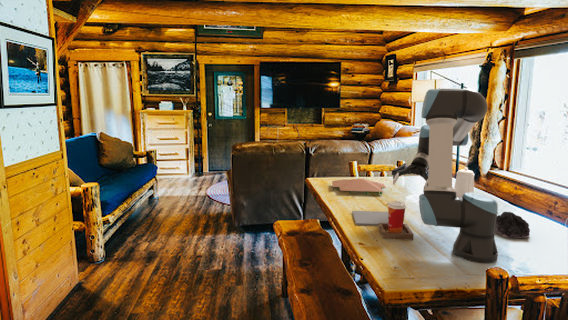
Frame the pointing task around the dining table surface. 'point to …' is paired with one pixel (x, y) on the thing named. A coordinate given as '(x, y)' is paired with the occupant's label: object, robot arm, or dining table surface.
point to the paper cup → (396, 216)
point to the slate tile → (370, 217)
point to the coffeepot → (464, 182)
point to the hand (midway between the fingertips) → (408, 185)
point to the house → (358, 185)
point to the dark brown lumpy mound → (511, 226)
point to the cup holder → (399, 236)
